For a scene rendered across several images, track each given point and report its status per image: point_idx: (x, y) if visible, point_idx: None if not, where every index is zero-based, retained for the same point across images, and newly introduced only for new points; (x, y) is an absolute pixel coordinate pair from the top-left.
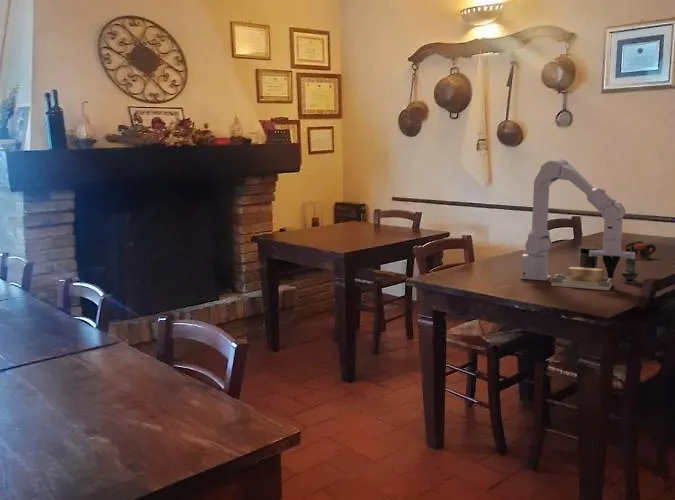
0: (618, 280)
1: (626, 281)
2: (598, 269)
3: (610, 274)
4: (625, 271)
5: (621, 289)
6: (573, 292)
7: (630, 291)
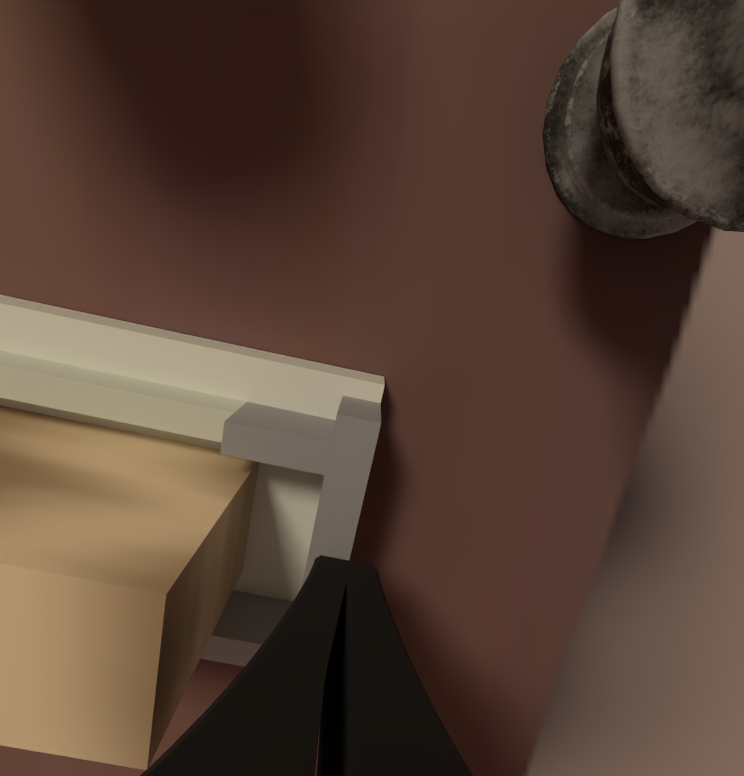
0: (514, 38)
1: (601, 200)
2: (72, 659)
3: (321, 713)
4: (700, 110)
5: (455, 578)
6: (14, 749)
7: (527, 644)
